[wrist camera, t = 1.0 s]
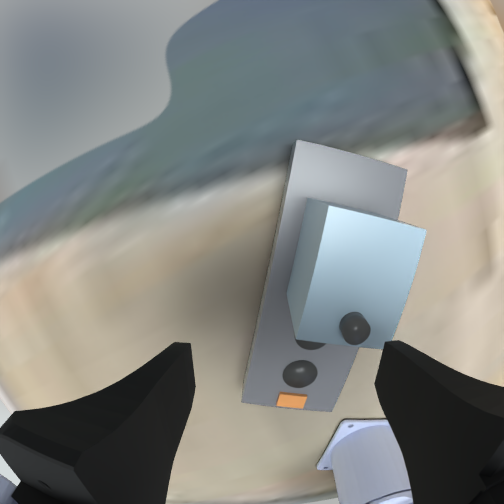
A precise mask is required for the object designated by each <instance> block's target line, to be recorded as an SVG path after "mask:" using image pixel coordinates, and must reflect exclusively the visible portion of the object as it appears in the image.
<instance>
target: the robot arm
mask: <svg viewBox="0 0 504 504" xmlns="http://www.w3.org/2000/svg"><path fill="white" fill-rule="evenodd" d="M195 387H196V386H195V377H194V369H193V360H192V351H191V343H179V342H174V343H173V344H171V345H170V346H169V347H167V348H166V349H165V350H163V351H162V352H161V353H159V354H158V355H157V356H155V357H154V358H153V359H151V360H150V361H149V362H147V363H146V364H145V365H143V366H142V367H140V368H139V369H137V370H136V371H134V372H133V373H131V374H129V375H128V376H126V377H125V378H123V379H121V380H120V381H118V382H116V383H114V384H112V385H111V386H108V387H106V388H104V389H102V390H100V391H98V392H96V393H93V394H90V395H88V396H85V397H82V398H80V399H77V400H74V401H71V402H67V403H64V404H60V405H55V406H51V407H46V408H40V409H32V410H23V411H15V412H14V413H13V414H12V415H11V416H10V417H9V418H8V420H7V421H6V422H5V423H4V424H3V425H2V426H1V428H0V454H1V456H2V457H3V458H4V460H5V461H6V463H7V464H8V465H9V466H10V468H11V469H12V470H13V472H14V473H15V474H16V475H17V477H18V478H19V479H20V480H21V482H20V483H19V485H18V486H16V485H15V484H13V483H12V482H11V481H10V480H8V479H7V478H5V477H4V476H2V475H1V474H0V504H165V502H166V497H167V491H168V485H169V480H170V475H171V470H172V465H173V461H174V458H175V454H176V451H177V448H178V446H179V443H180V440H181V437H182V434H183V431H184V429H185V426H186V423H187V420H188V417H189V414H190V411H191V408H192V403H193V398H194V393H195ZM375 388H376V391H377V395H378V398H379V402H380V405H381V407H382V409H383V412H384V414H385V416H386V418H387V420H344V421H342V422H341V423H340V425H339V427H338V429H337V431H336V433H335V434H334V436H333V438H332V440H331V442H330V443H329V445H328V447H327V449H326V451H325V452H324V454H323V456H322V457H321V459H320V461H319V463H318V464H317V469H318V470H333V473H334V478H335V483H336V488H337V493H338V498H339V503H340V504H504V387H501V386H497V385H494V384H490V383H486V382H483V381H480V380H478V379H475V378H472V377H470V376H467V375H465V374H462V373H460V372H458V371H456V370H454V369H452V368H450V367H448V366H446V365H444V364H442V363H440V362H438V361H436V360H435V359H433V358H431V357H429V356H427V355H426V354H424V353H422V352H420V351H419V350H417V349H415V348H413V347H411V346H410V345H408V344H406V343H404V342H401V341H399V340H397V341H386V342H385V343H384V348H383V352H382V356H381V360H380V365H379V369H378V372H377V376H376V380H375ZM350 424H351V425H350Z"/></svg>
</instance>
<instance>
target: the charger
mask: <svg viewBox="0 0 504 504" xmlns="http://www.w3.org/2000/svg"><path fill="white" fill-rule="evenodd" d="M426 231H427V230H425V229H422V228H419V227H417V226H414V225H411V224H408V223H405V222H402V221H399V220H396V219H393V218H390V217H387V216H384V215H381V214H377V213H373V212H369V211H365V210H361V209H356V208H352V207H348V206H344V205H340V204H335V203H331V202H326V201H322V200H317V199H313V198H307V203H306V208H305V212H304V217H303V222H302V227H301V231H300V236H299V241H298V245H297V250H296V254H295V259H294V263H293V268H292V272H291V276H290V281H289V285H288V289H287V293H286V294H287V299H288V303H289V308H290V313H291V318H292V323H293V328H294V333H295V338H296V339H297V340H305V341H312V342H320V343H328V344H336V345H345V346H354V347H364V348H375V349H383V348H384V343H385V342H386V341H392V338H393V336H394V333H395V331H396V328H397V325H398V323H399V320H400V317H401V315H402V312H403V309H404V306H405V303H406V300H407V297H408V294H409V291H410V288H411V285H412V282H413V278H414V275H415V272H416V268H417V265H418V261H419V258H420V254H421V250H422V247H423V243H424V239H425V235H426Z"/></svg>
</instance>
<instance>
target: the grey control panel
mask: <svg viewBox="0 0 504 504" xmlns="http://www.w3.org/2000/svg"><path fill="white" fill-rule="evenodd" d="M406 175H407V169H404V168H401V167H397V166H394V165H391V164H388V163H385V162H382V161H378V160H375V159H372V158H368V157H365V156H361V155H358V154H354V153H350V152H347V151H343V150H339V149H335V148H331V147H327V146H323V145H319V144H314V143H310V142H306V141H301V140H296V141H295V142H294V143H293V145H292V150H291V155H290V160H289V165H288V171H287V176H286V181H285V186H284V191H283V197H282V202H281V207H280V212H279V217H278V222H277V227H276V232H275V237H274V242H273V247H272V252H271V256H270V261H269V266H268V271H267V276H266V281H265V285H264V290H263V295H262V300H261V304H260V309H259V314H258V318H257V323H256V328H255V332H254V337H253V341H252V346H251V350H250V355H249V359H248V364H247V368H246V373H245V377H244V382H243V391H242V402H243V403H249V404H256V405H263V406H271V407H279V408H289V409H299V410H311V411H326V412H332V410H333V408H334V406H335V404H336V402H337V399H338V397H339V395H340V393H341V390H342V388H343V386H344V384H345V381H346V379H347V376H348V374H349V372H350V369H351V367H352V364H353V362H354V359H355V357H356V354H357V352H358V349H359V347H354V346H345V345H336V344H328V343H320V342H312V341H305V340H297V339H296V338H295V333H294V328H293V323H292V318H291V313H290V308H289V303H288V299H287V294H286V293H287V289H288V285H289V281H290V276H291V272H292V268H293V263H294V259H295V254H296V250H297V245H298V241H299V236H300V231H301V227H302V222H303V217H304V212H305V208H306V203H307V198H313V199H317V200H322V201H326V202H331V203H335V204H340V205H344V206H348V207H352V208H356V209H361V210H365V211H369V212H373V213H377V214H381V215H384V216H387V217H390V218H393V219H396V220H398V216H399V211H400V207H401V202H402V197H403V192H404V186H405V181H406Z"/></svg>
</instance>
